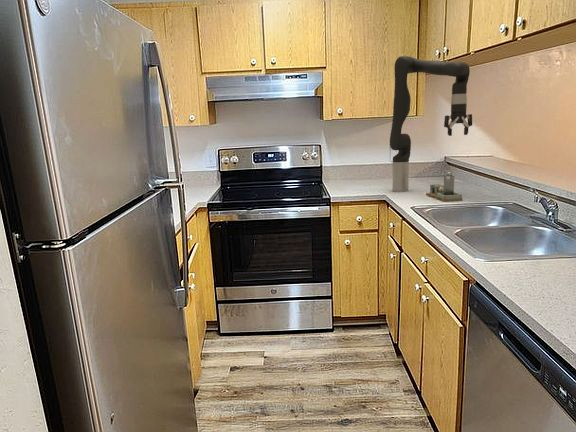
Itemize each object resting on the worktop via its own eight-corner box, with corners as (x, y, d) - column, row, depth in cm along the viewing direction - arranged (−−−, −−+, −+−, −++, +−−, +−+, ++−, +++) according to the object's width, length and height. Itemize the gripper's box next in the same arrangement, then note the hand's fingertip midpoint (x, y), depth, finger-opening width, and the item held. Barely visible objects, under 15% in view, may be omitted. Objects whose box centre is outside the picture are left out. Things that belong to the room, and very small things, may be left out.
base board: (425, 195, 248) (425, 192, 247) (443, 193, 249) (443, 191, 248) (443, 201, 227) (443, 199, 227) (462, 200, 228) (462, 198, 228)
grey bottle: (441, 196, 234) (442, 172, 231) (450, 196, 235) (451, 171, 232) (446, 198, 229) (446, 173, 226) (455, 197, 230) (456, 172, 227)
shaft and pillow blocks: (430, 192, 248) (430, 183, 247) (438, 191, 248) (438, 183, 247) (437, 195, 239) (437, 186, 238) (446, 194, 240) (446, 185, 239)
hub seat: (436, 196, 236) (436, 193, 235) (452, 195, 237) (453, 191, 236) (444, 199, 227) (444, 195, 227) (461, 198, 228) (461, 194, 228)
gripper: (468, 102, 235) (466, 134, 238) (442, 104, 233) (441, 135, 237) (475, 102, 228) (474, 134, 231) (449, 103, 226) (448, 136, 229)
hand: (457, 135), depth 234 cm, fingers open, 8 cm apart
